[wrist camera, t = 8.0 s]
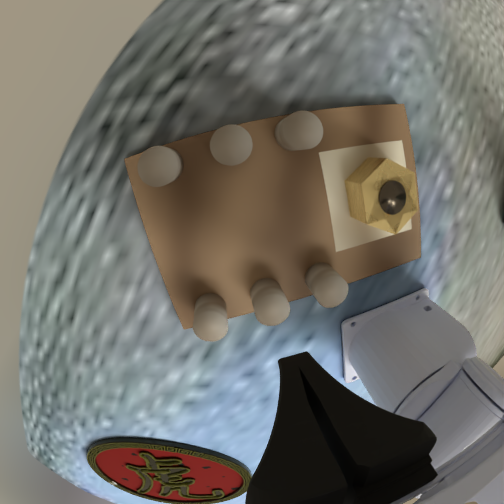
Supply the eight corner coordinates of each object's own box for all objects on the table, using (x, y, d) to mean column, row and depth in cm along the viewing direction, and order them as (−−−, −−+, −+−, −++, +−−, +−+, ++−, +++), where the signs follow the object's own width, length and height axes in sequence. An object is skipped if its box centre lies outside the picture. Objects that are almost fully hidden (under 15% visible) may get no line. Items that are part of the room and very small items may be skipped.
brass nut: (340, 162, 17) (358, 163, 15) (392, 153, 17) (413, 154, 15) (352, 233, 19) (369, 244, 16) (400, 219, 19) (420, 227, 17)
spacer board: (398, 105, 17) (425, 99, 14) (415, 254, 21) (439, 268, 18) (128, 159, 16) (109, 159, 13) (184, 323, 20) (180, 351, 17)
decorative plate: (121, 497, 31) (57, 428, 23) (122, 493, 32) (60, 422, 24) (253, 502, 33) (251, 442, 25) (253, 497, 34) (250, 434, 26)
